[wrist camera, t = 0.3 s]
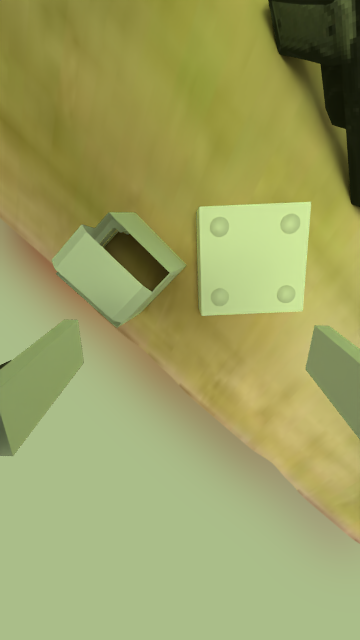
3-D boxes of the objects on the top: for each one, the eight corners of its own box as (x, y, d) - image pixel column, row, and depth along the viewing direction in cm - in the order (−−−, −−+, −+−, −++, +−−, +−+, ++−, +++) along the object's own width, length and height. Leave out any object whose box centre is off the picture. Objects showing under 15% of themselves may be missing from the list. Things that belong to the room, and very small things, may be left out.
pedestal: (196, 212, 37) (199, 206, 32) (293, 208, 37) (312, 201, 32) (198, 308, 41) (201, 316, 35) (287, 304, 41) (303, 311, 36)
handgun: (304, 188, 45) (378, 213, 34) (267, -6, 29) (383, -79, 18) (316, 179, 45) (395, 202, 33) (285, -22, 29) (415, -106, 18)
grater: (139, 313, 41) (107, 368, 21) (88, 265, 39) (0, 278, 19) (186, 265, 39) (197, 276, 20) (135, 212, 37) (90, 167, 18)
